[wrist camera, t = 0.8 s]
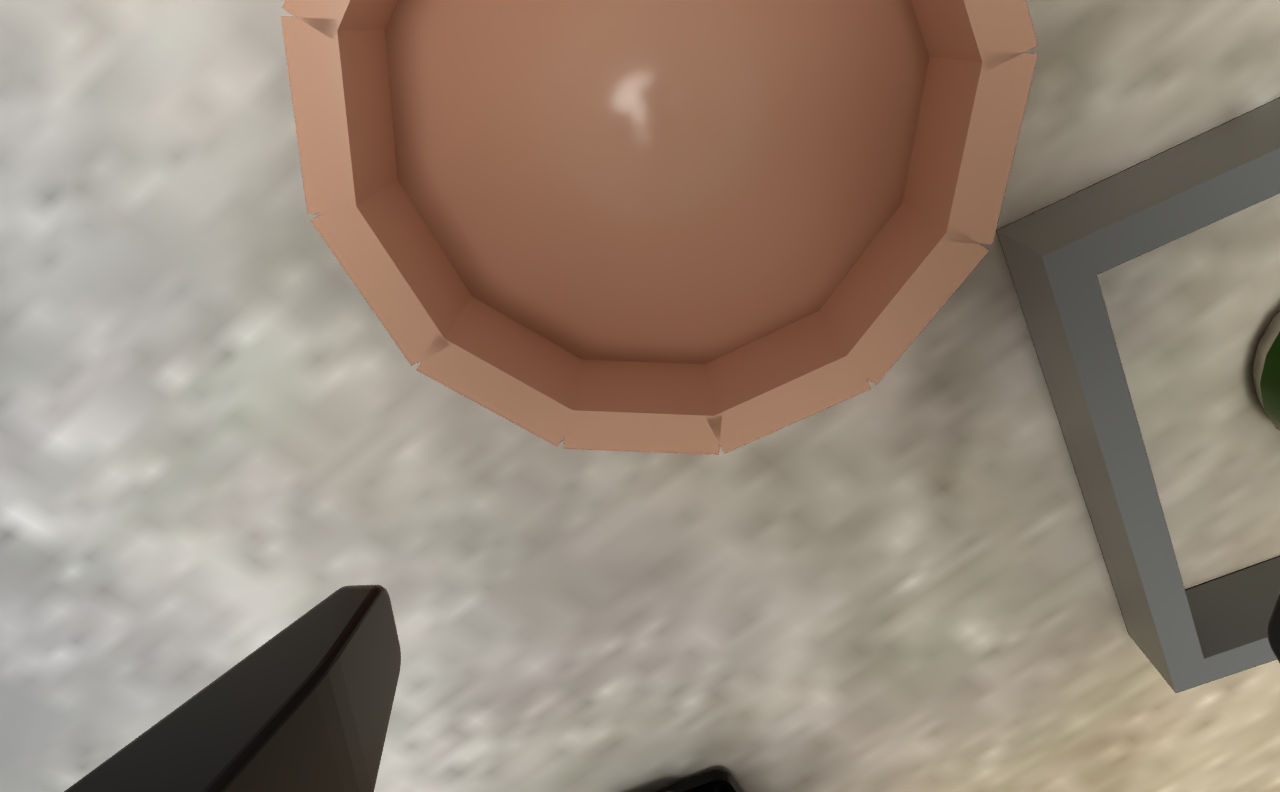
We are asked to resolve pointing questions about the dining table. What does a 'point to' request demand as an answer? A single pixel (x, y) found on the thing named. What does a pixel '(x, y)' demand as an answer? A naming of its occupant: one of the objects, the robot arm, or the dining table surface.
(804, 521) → the dining table surface
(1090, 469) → the gray square frame
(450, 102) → the bowl
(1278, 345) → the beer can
